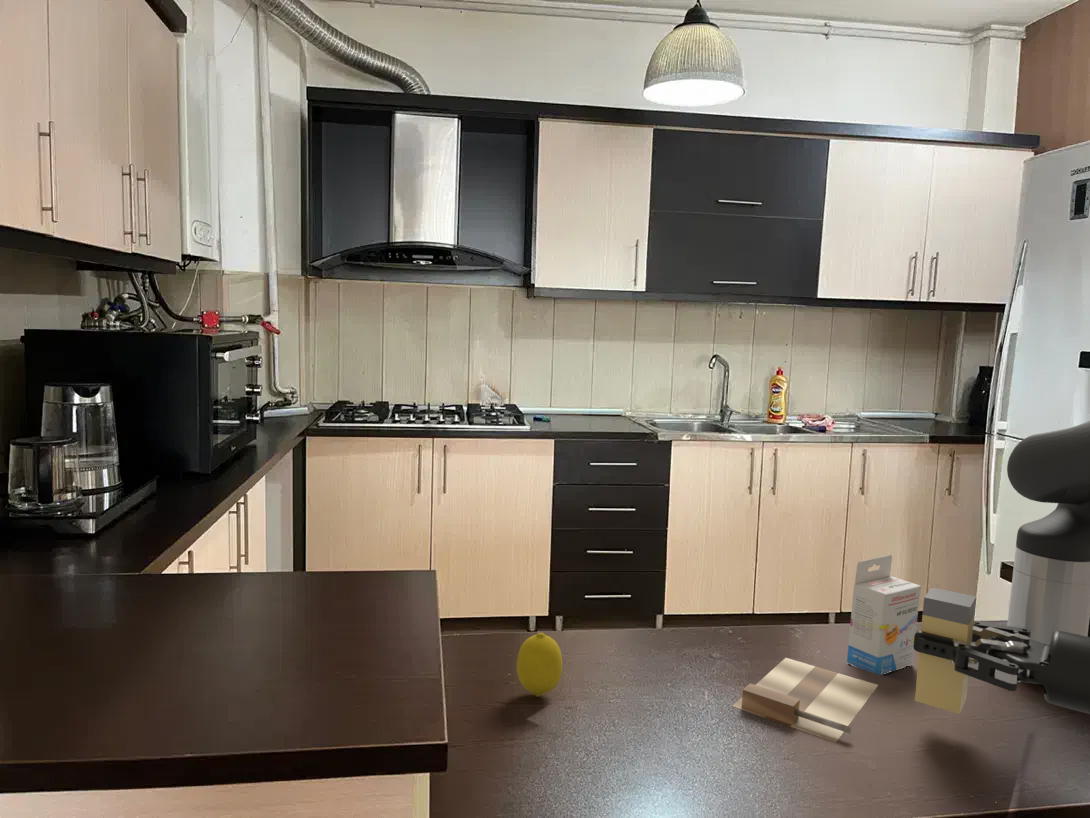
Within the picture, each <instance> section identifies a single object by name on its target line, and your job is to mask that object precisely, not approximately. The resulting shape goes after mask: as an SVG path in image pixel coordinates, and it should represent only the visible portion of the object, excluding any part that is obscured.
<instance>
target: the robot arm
mask: <svg viewBox="0 0 1090 818" xmlns="http://www.w3.org/2000/svg"><path fill="white" fill-rule="evenodd" d="M1009 455H1010V456H1009V457H1008V460H1007V466H1006V471H1007V473H1006V474H1007V478H1008V480H1009V483H1010V485H1011V486H1012V488H1013V490H1015V491H1016V492H1017V493H1018V494H1019V495H1021V496H1022V497H1024V498H1026V499H1028V500H1030V501H1034V502H1039V503H1045V504H1046V503H1047V504H1048V503H1050V504H1057V506H1056V507H1055V509H1054V510H1052V512H1050V513H1049V514H1047V515H1045V516H1044V517H1041V518H1039V519H1036V520H1033V521H1030V522H1027V523H1024V524H1022V525H1021V526H1020V527H1019V528H1018V530H1017V533H1016V540H1015V541H1016V542H1015V551H1014V559H1013V561H1014V562H1013V569H1012V580H1011V587H1010V597H1009V605H1008V606H1009V607H1008V614H1007V623H1006V624H1007V625H1003V624H998V623H990V622H985V621H979V620H974V626H973V636H972V642H969V641H963V640H953V639H952V638H948V637H944V636H939V635H935V634H931V633H927V632H923V631H921V630H916V633H915V635H914V645H913V647H914V651H915V652H918V653H919V652H921V653H925V654H929V655H932V656H936V657H940V658H944V659H948V660H950V659H951V663H952V664H954V665H955V668H954V670H955V671H957V672H960V673H963V674H965V675H968V676H969V677H972V678H973V679H977V680H979V681H982V682H984V683H988V684H989V685H990V684H991V685H992V686H996V687H998V688H1001V689H1004V690H1007V691H1008V692H1009V691H1010V692H1016V691H1017V690H1018V689H1017V688H1018V683H1028V684H1034V685H1035V684H1036V685H1041V686H1043V687H1044V692H1043V697H1044V701H1046V702H1047V703H1048V704H1051V705H1055V706H1059V707H1062V708H1066V709H1069V710H1074V711H1076V712H1080V713H1085V714H1088V715H1090V636H1088V634H1089V625H1090V420H1089V421H1085V422H1083V423H1080V424H1078V425H1075V426H1072V427H1068V428H1063V429H1058V430H1052V431H1046V432H1041V433H1034V434H1031V435H1028V436H1027V437H1025V438H1023V439H1022V440H1021V441H1020V442H1018V443H1017V444H1016V445H1015V447H1014V448H1013V450H1012V451H1011V453H1010V454H1009ZM969 657H970V659H969Z"/></svg>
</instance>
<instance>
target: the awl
mask: <svg viewBox="0 0 1090 818" xmlns="http://www.w3.org/2000/svg"><path fill="white" fill-rule="evenodd" d="M741 698H742V708H744V709H747V710H750V711H753V712H756V713H759V714H762V715H765V716H767V717H770V718H773V719H776V720H779V721H782V722H785V723H788V724H791V725H792V724H793V723H794V722H795V721H796V720H797V719H798V718H799V717H802V718H805V719H808V720H811V721H814V722H817V723H820V724H823V725H826V726H829V727H832V728H835V729H838V730H841V731H844V733H847V734H851V732H852V727H851V726H850V725H849V726H846V725H843V724H840V723H837V722H834V721H831V720H828V719H825V718H822V717H819V716H816V715H813V714H810V713H807V712H804V711H801V710H799V706H800V699H797V698H794V697H791V696H788V695H785V694H782V693H779V692H776V691H773V690H769V689H766V688H763V687H760V686H757V685H756V684H753V683H751V682H750V683H749V684H747V685H746V686H745V687H744V688H743V689H742V696H741Z"/></svg>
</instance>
